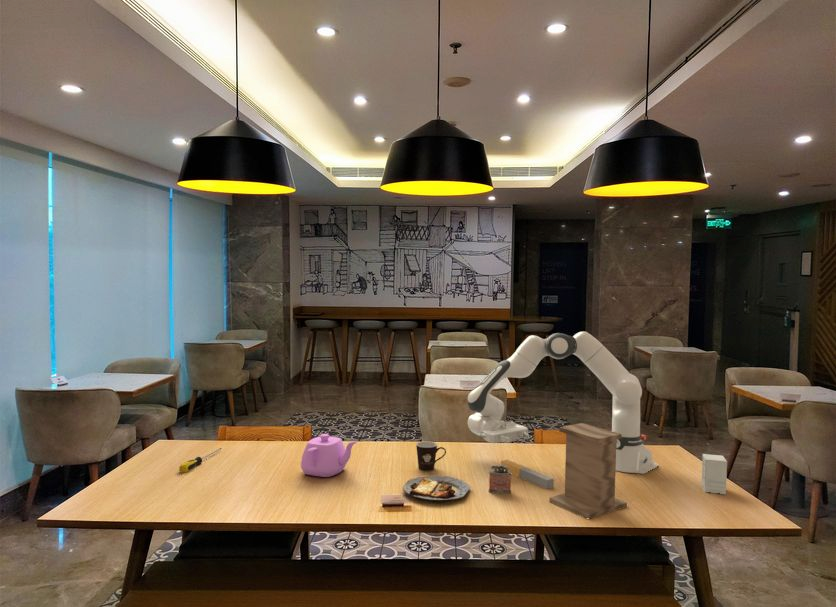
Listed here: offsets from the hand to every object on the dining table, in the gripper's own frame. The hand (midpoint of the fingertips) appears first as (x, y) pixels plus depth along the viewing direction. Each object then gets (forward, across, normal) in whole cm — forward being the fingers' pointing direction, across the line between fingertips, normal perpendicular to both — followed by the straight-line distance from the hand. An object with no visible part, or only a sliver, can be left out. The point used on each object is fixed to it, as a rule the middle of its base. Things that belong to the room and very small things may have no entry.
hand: (519, 438), depth 225 cm
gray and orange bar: (+4, 0, +15) cm, 15 cm away
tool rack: (+35, 0, +14) cm, 38 cm away
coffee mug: (-24, -27, +15) cm, 39 cm away
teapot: (-42, -65, +15) cm, 79 cm away
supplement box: (+50, +52, +15) cm, 74 cm away
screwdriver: (-80, -104, +15) cm, 132 cm away
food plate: (-2, -39, +15) cm, 42 cm away
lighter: (+10, -19, +15) cm, 26 cm away
